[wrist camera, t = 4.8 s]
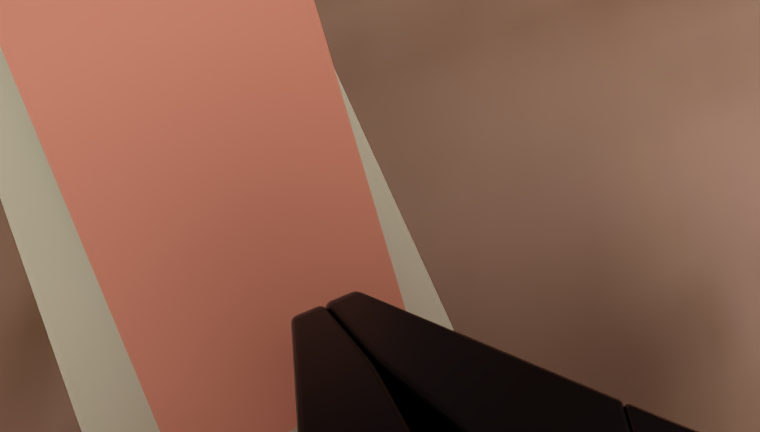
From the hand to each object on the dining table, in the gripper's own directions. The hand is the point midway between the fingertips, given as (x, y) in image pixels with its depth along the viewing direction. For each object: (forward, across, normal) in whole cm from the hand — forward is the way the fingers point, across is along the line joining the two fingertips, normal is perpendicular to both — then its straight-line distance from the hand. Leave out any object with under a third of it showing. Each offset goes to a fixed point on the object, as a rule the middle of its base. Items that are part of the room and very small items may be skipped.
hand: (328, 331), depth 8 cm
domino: (+4, 0, +5) cm, 6 cm away
